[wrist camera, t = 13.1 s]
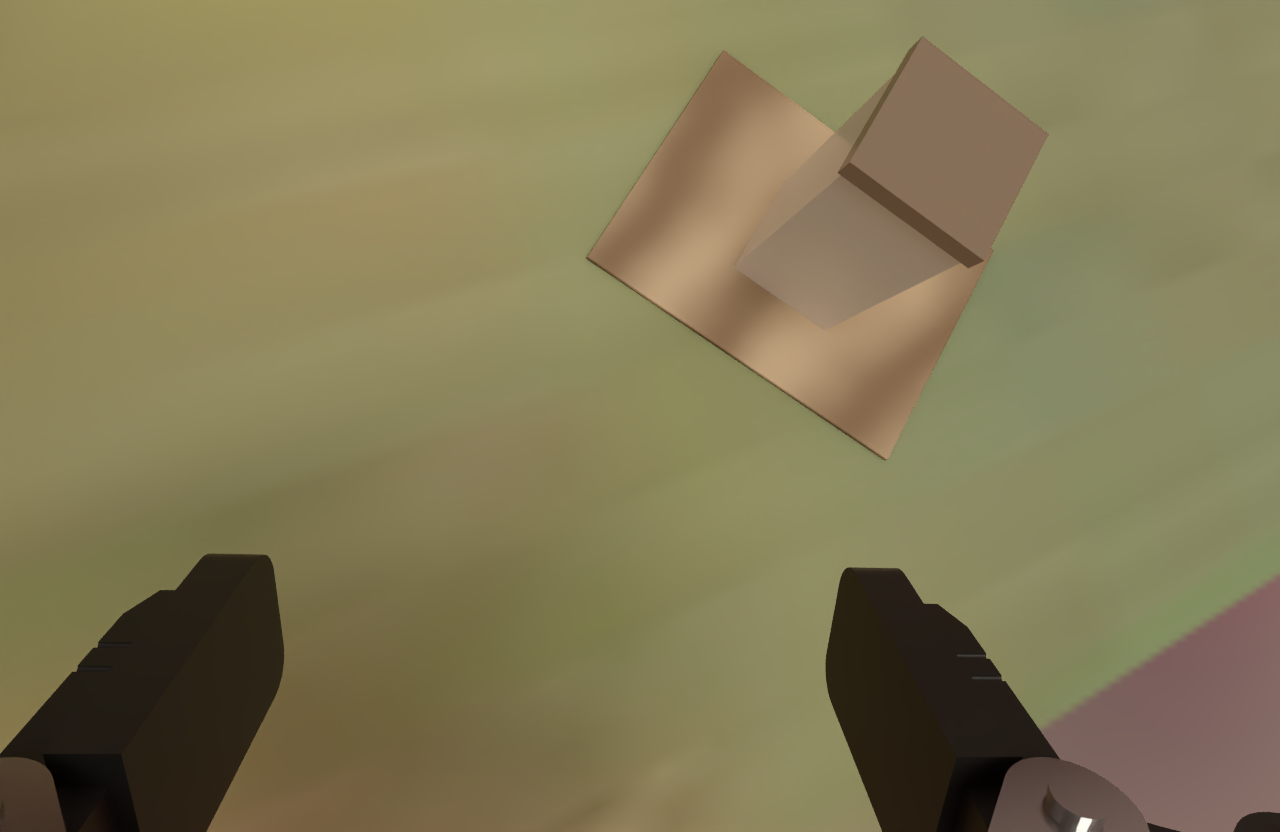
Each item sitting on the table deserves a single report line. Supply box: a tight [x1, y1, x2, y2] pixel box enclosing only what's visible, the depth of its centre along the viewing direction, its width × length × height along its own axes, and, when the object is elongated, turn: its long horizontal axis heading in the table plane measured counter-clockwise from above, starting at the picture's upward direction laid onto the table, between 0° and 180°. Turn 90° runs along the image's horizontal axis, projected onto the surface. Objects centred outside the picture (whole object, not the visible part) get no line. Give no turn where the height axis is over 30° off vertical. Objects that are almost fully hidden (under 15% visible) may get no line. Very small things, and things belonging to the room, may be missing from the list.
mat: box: [587, 50, 993, 460], centre depth 36 cm, size 16×12×1 cm
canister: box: [734, 36, 1048, 330], centre depth 31 cm, size 5×5×11 cm
